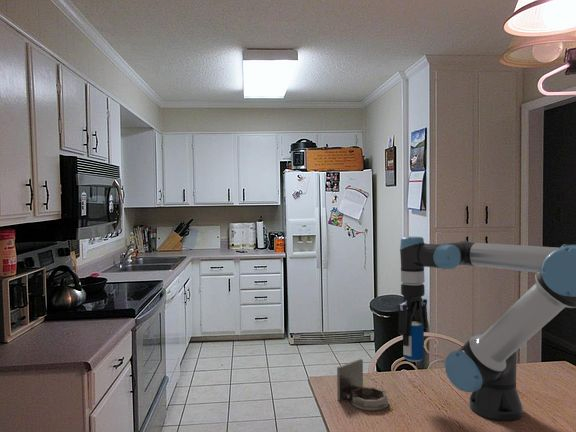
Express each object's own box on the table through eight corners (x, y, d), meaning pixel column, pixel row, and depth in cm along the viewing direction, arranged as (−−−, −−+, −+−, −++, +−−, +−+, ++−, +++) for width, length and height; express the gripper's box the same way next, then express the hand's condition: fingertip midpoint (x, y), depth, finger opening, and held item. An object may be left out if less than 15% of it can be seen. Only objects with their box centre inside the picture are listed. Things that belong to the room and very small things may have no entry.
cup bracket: (395, 403, 147) (395, 369, 147) (372, 414, 139) (372, 379, 139) (360, 390, 158) (360, 358, 158) (337, 400, 150) (337, 367, 150)
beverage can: (421, 356, 153) (421, 321, 152) (425, 362, 146) (425, 325, 146) (402, 356, 153) (401, 320, 153) (405, 362, 147) (404, 325, 147)
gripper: (418, 279, 159) (420, 344, 159) (385, 285, 146) (386, 356, 146) (438, 281, 153) (439, 349, 153) (405, 288, 140) (406, 362, 140)
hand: (413, 352), depth 150 cm, fingers closed on beverage can, 6 cm apart
